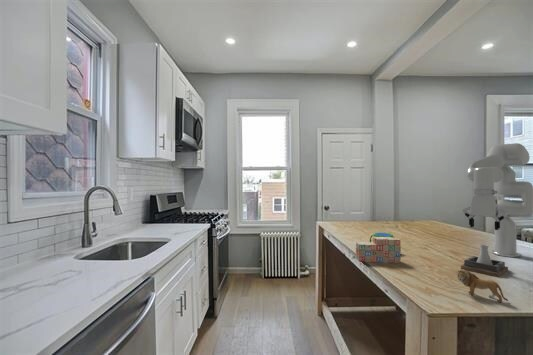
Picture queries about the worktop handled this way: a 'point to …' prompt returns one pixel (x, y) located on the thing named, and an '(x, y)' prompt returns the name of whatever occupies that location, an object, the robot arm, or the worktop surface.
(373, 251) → the stack of blocks
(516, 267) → the worktop surface
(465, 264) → the board
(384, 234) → the snack cup
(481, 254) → the flask
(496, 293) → the lion figurine
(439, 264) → the worktop surface
